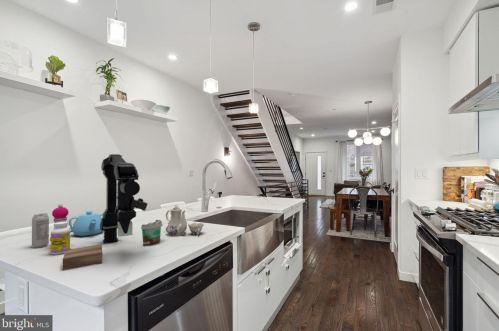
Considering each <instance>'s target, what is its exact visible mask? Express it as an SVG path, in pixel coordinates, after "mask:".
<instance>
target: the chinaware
mask: <svg viewBox="0 0 499 331" xmlns="http://www.w3.org/2000/svg"><path fill="white" fill-rule="evenodd" d="M185 212H186V210H183V209H181V208H180V207H179V206H178V204H175V206H174V207H173V208H172V209H170V210H167V211H166V213H165V218H166V220H167V221H168V222H167V224H168V225H167V226H166V228H165V232H166V233H167V234H168V235H167V236H169V237H181V236H183V235H185V232H186V231H187V230H188V229H187V227H188V228H189V231H190V232H191V233H192V236H198V235H200V233H201V231H202V230H203V228H204V227H203V226H205V224H204V223H202V222H199V223H196V222H193V223H191V224H187V220H186V216H185ZM169 213H170V218H169V217H168V214H169Z"/></svg>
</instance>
